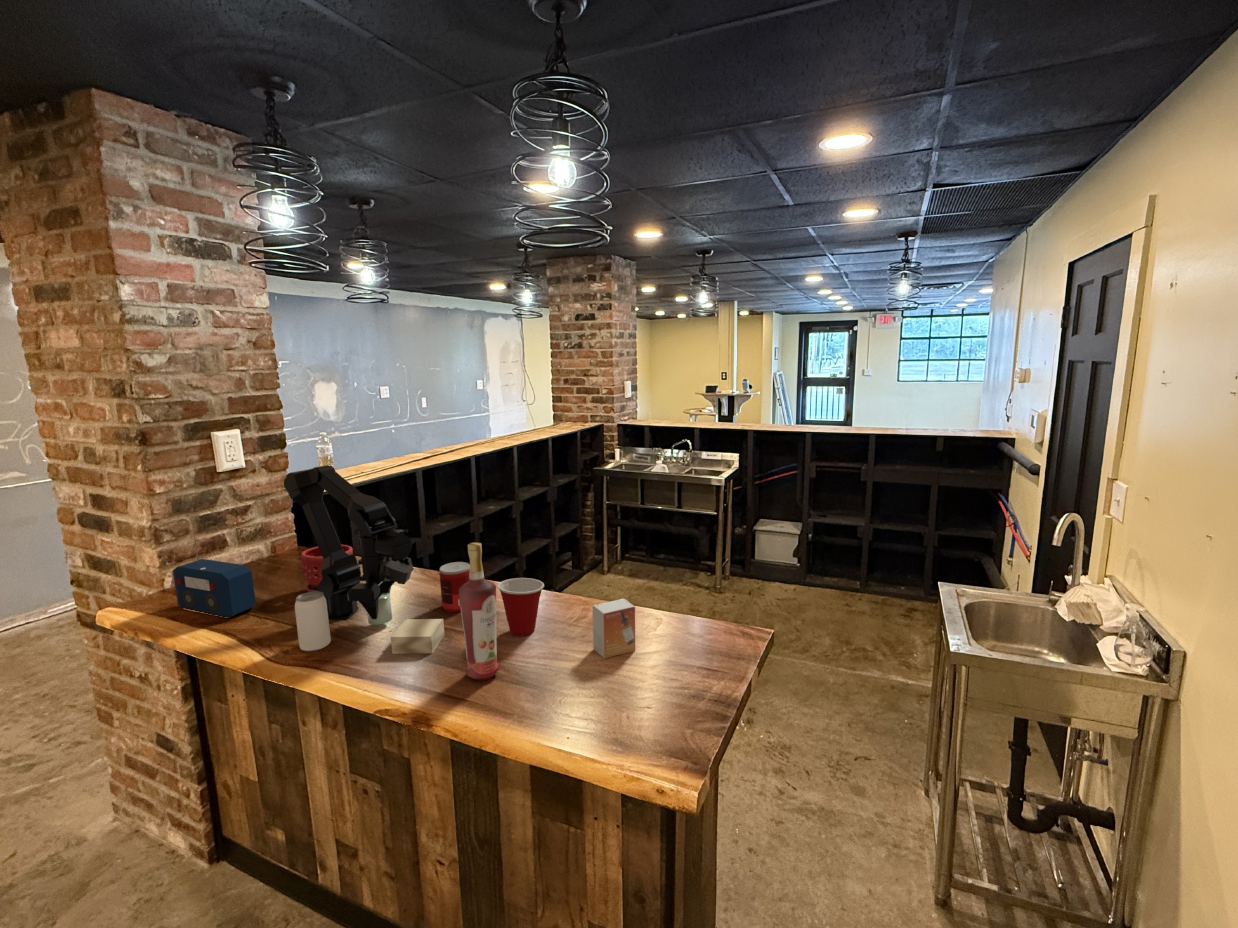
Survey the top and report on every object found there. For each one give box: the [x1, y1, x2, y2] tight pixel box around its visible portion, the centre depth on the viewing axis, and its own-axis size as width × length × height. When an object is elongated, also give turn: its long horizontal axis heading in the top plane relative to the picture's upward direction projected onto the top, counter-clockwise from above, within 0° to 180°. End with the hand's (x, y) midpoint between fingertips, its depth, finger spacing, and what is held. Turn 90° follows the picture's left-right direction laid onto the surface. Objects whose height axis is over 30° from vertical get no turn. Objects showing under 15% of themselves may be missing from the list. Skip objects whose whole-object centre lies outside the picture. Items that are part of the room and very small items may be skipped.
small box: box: [592, 598, 636, 659], centre depth 131 cm, size 8×6×10 cm
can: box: [294, 591, 332, 652], centre depth 136 cm, size 6×6×12 cm
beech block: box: [390, 618, 445, 655], centre depth 136 cm, size 9×9×4 cm
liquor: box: [459, 542, 501, 681], centre depth 120 cm, size 7×7×28 cm
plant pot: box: [300, 544, 354, 593], centre depth 169 cm, size 13×13×12 cm
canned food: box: [439, 561, 470, 613], centre depth 156 cm, size 8×8×11 cm
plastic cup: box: [497, 577, 545, 637], centre depth 141 cm, size 11×11×12 cm
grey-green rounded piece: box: [366, 593, 393, 626], centre depth 146 cm, size 6×6×6 cm
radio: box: [172, 535, 257, 618], centre depth 156 cm, size 21×9×20 cm, turn 69°
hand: (379, 613), depth 146 cm, fingers closed on grey-green rounded piece, 5 cm apart
